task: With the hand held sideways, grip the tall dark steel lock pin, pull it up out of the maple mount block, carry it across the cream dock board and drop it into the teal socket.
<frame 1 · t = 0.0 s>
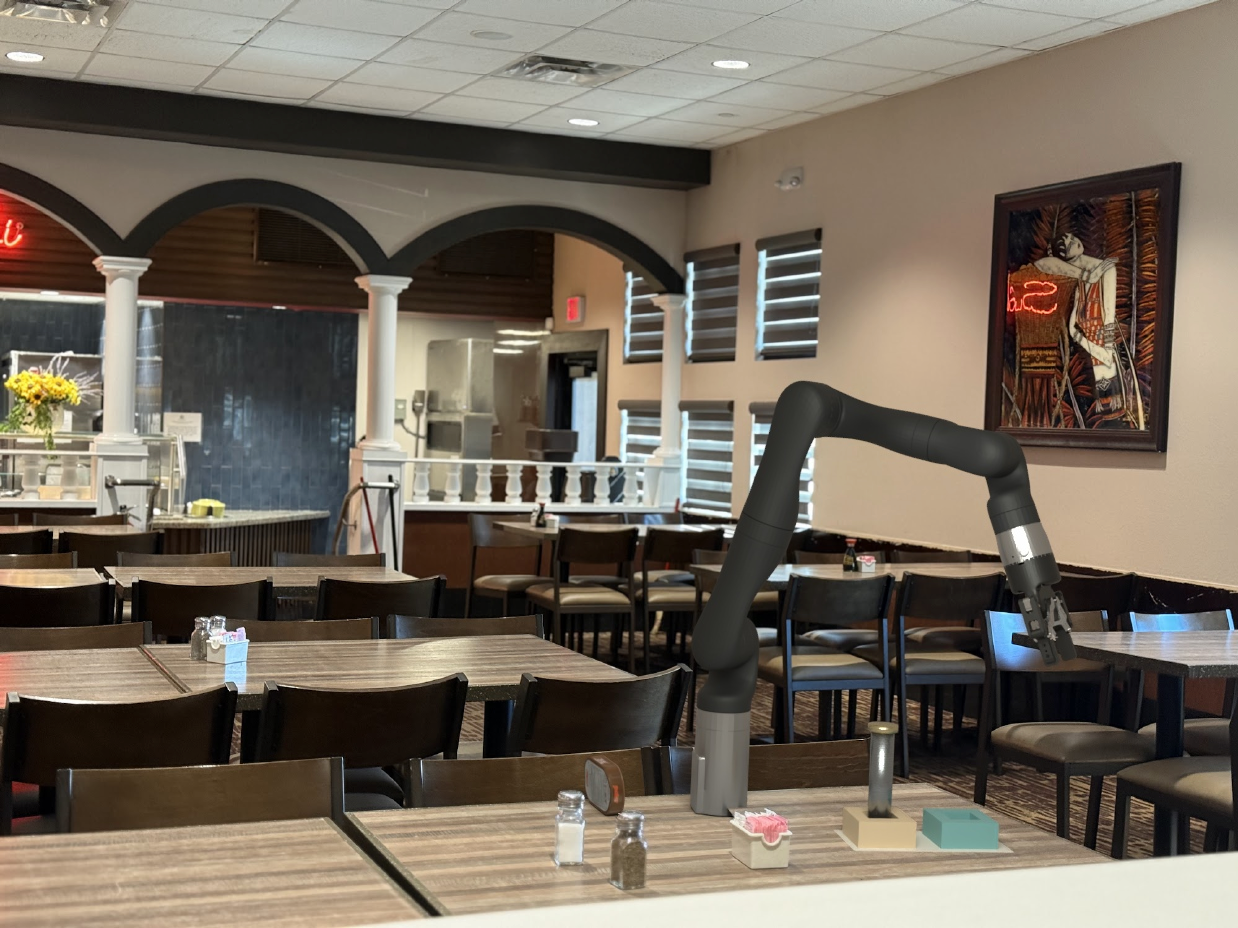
hand: (1062, 662, 214), 31 cm above the table, tool tilted 20°, fingers open, 8 cm apart
dock: (921, 850, 225), on the table
lock pin: (878, 840, 224), point 1 cm above the table, touching dock
tin: (602, 810, 243), on the table
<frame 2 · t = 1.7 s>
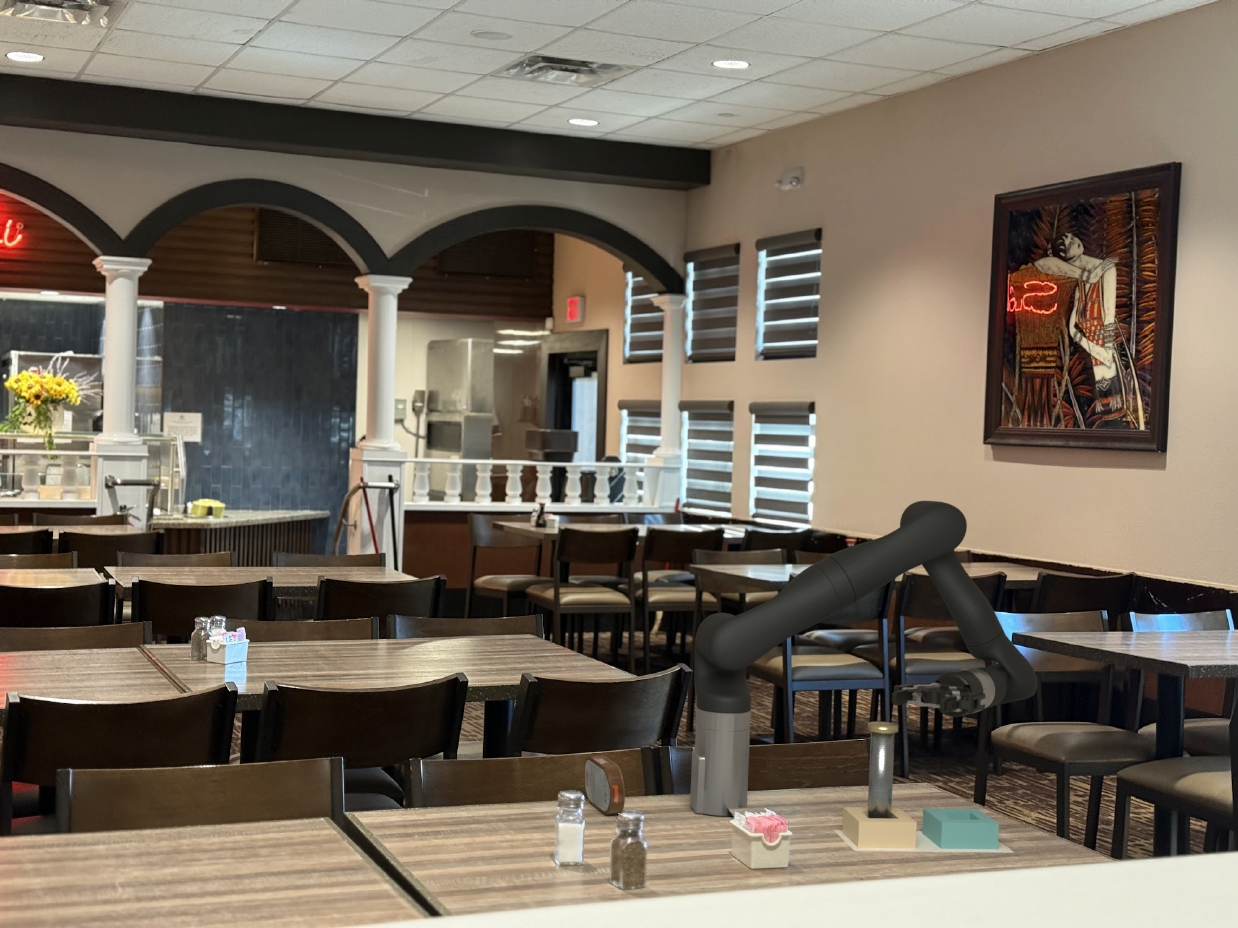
hand: (918, 702, 232), 22 cm above the table, tool horizontal, fingers open, 8 cm apart
nothing on the table moved.
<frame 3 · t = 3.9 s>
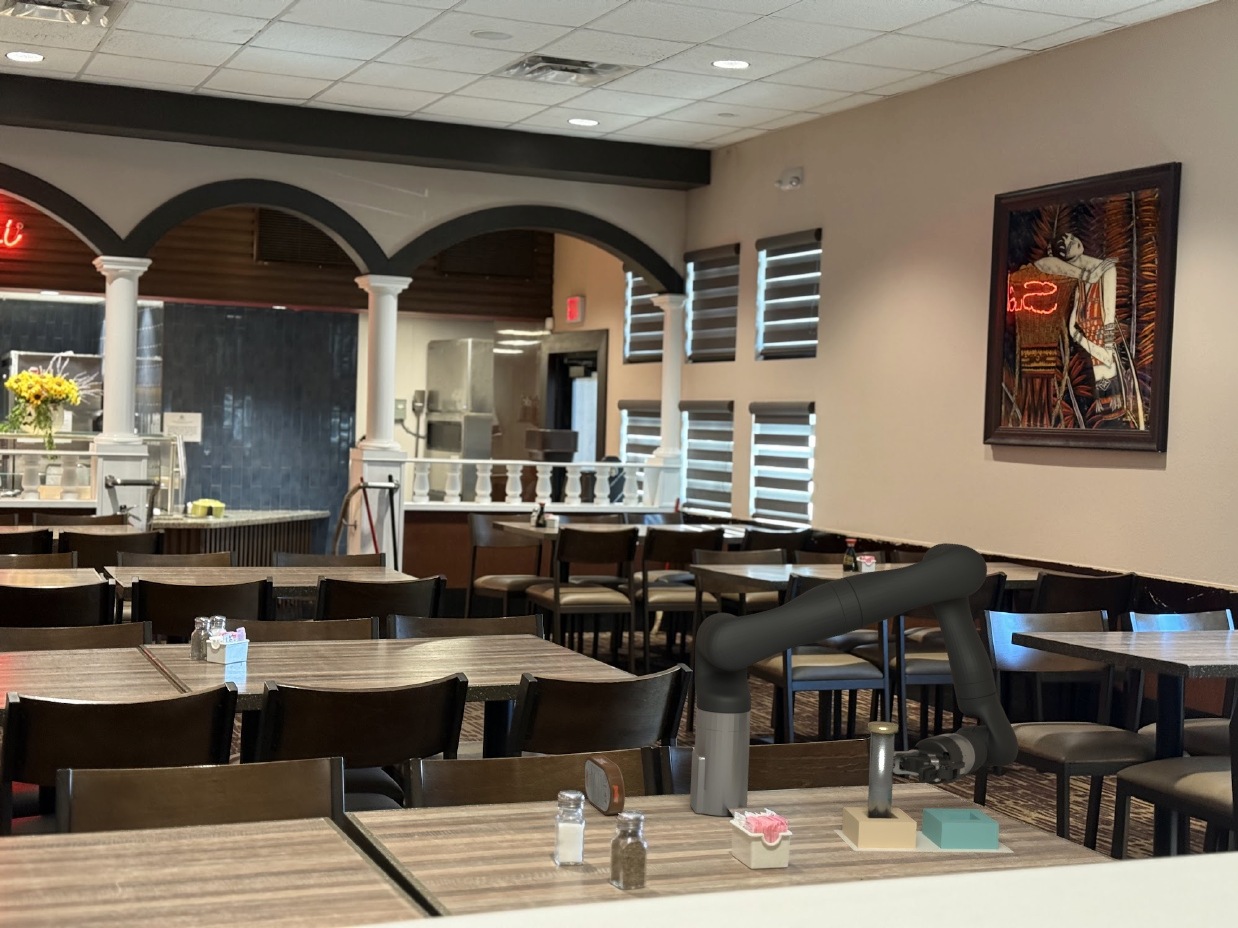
hand: (896, 771, 228), 11 cm above the table, tool horizontal, fingers open, 8 cm apart
nothing on the table moved.
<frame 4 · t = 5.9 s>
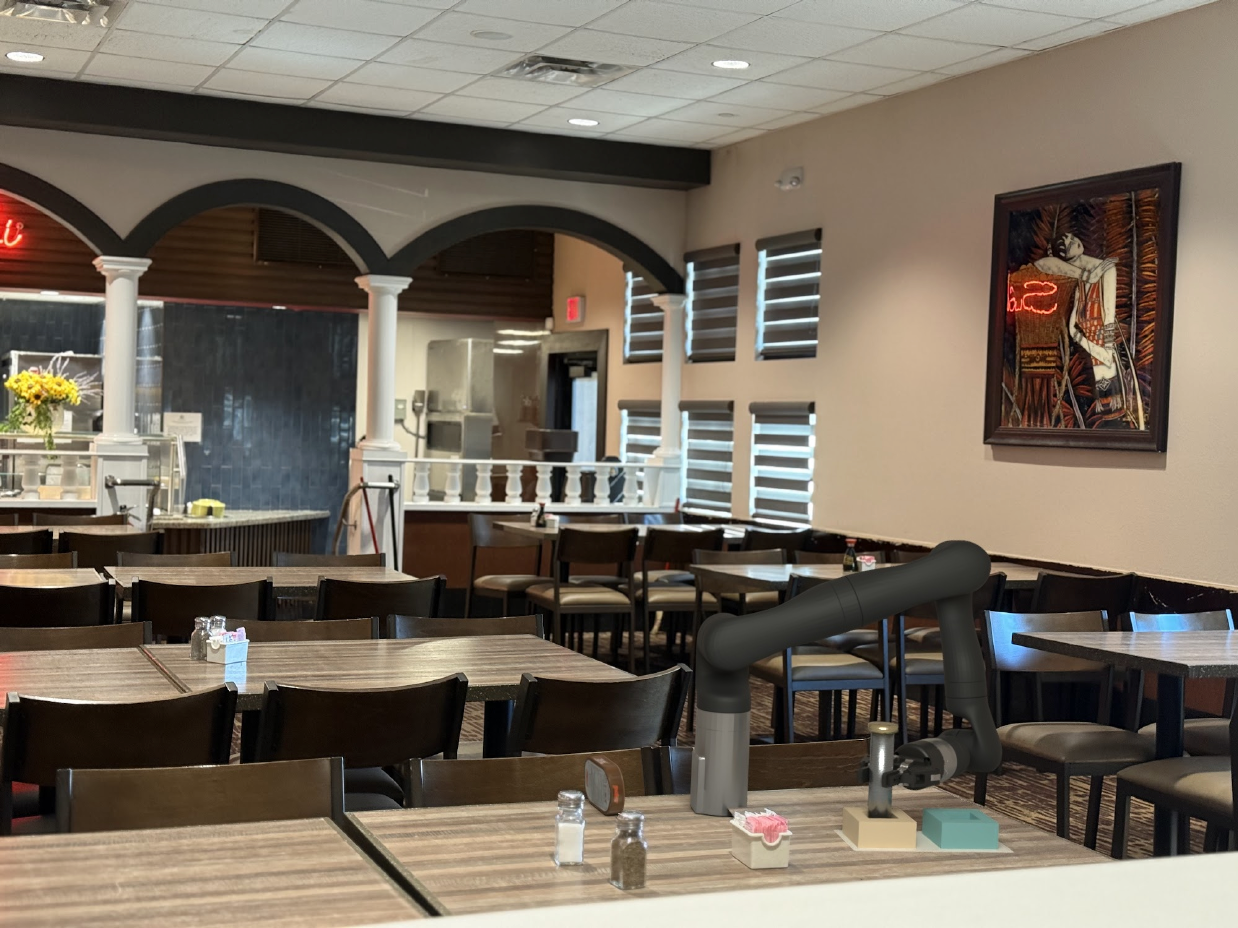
hand: (872, 778, 222), 11 cm above the table, tool horizontal, fingers closed on lock pin, 3 cm apart
lock pin: (878, 840, 224), point 2 cm above the table, touching dock, gripper
everything else where it was.
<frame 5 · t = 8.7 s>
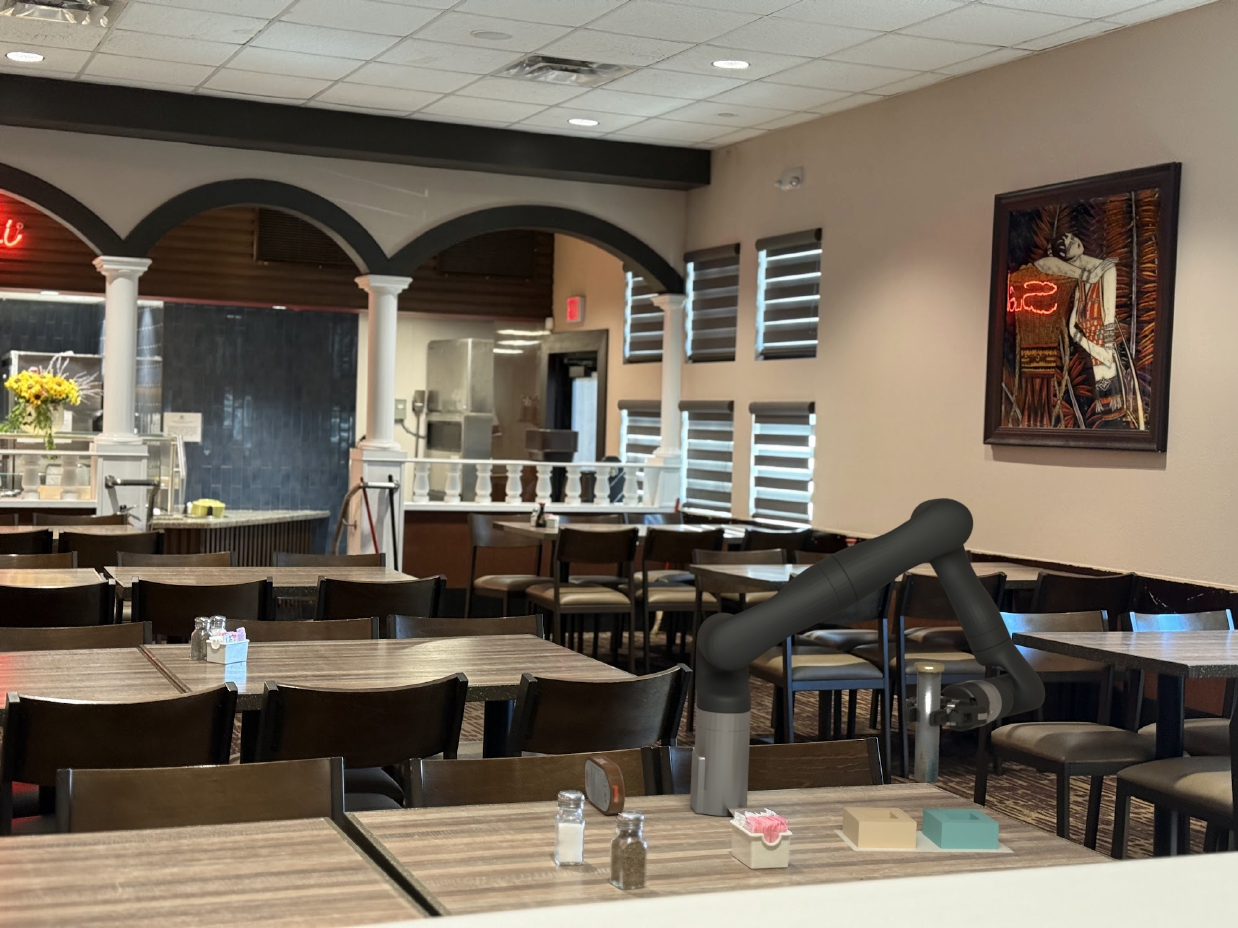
hand: (919, 717, 223), 21 cm above the table, tool horizontal, fingers closed on lock pin, 3 cm apart
lock pin: (926, 779, 225), point 11 cm above the table, touching gripper
everything else where it was.
when the fingers open (12 cm above the table, at t = 11.5 s): lock pin stays where it is, resting on dock.
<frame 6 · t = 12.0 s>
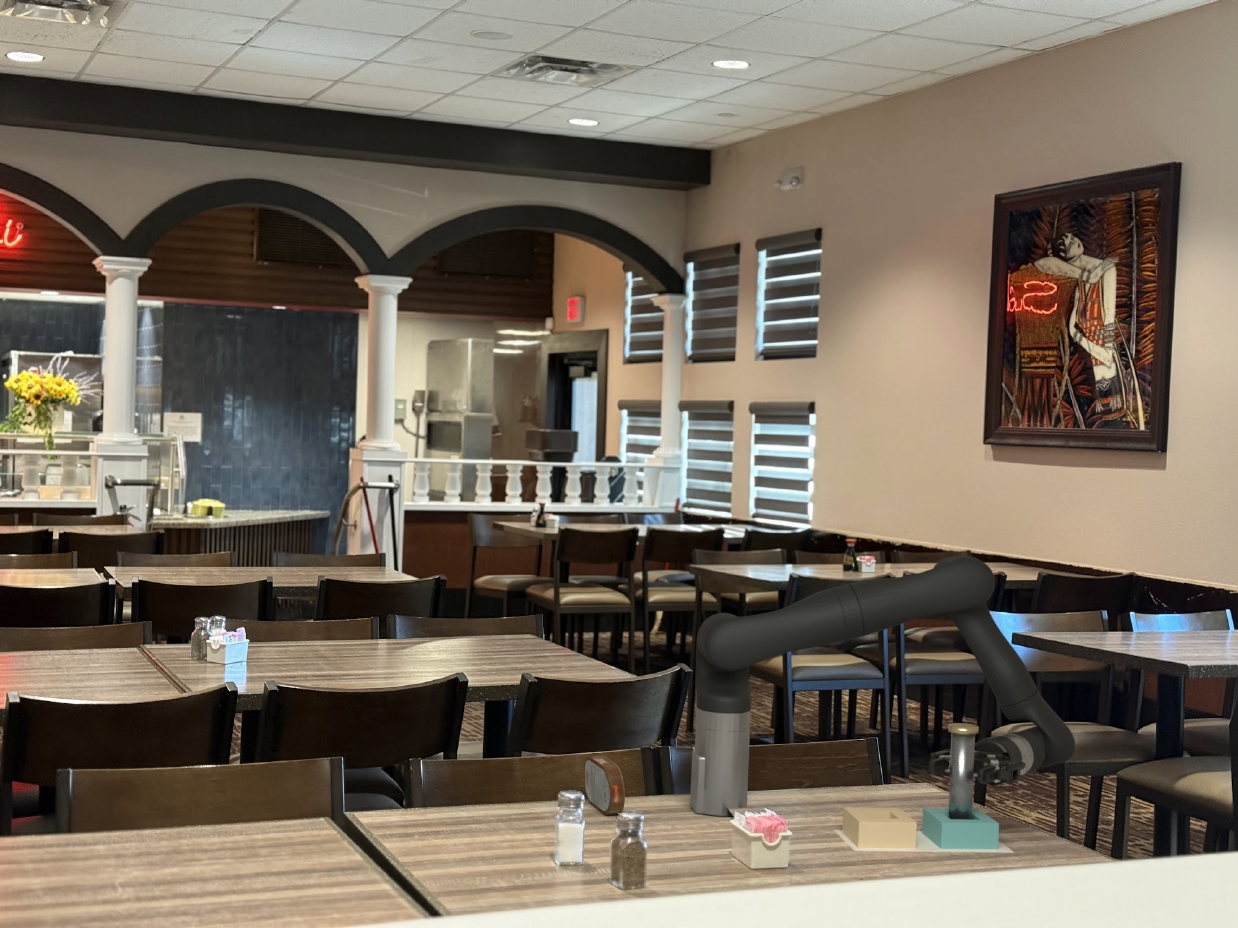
hand: (956, 772, 224), 13 cm above the table, tool horizontal, fingers open, 8 cm apart
lock pin: (959, 840, 226), point 2 cm above the table, touching dock
everything else where it was.
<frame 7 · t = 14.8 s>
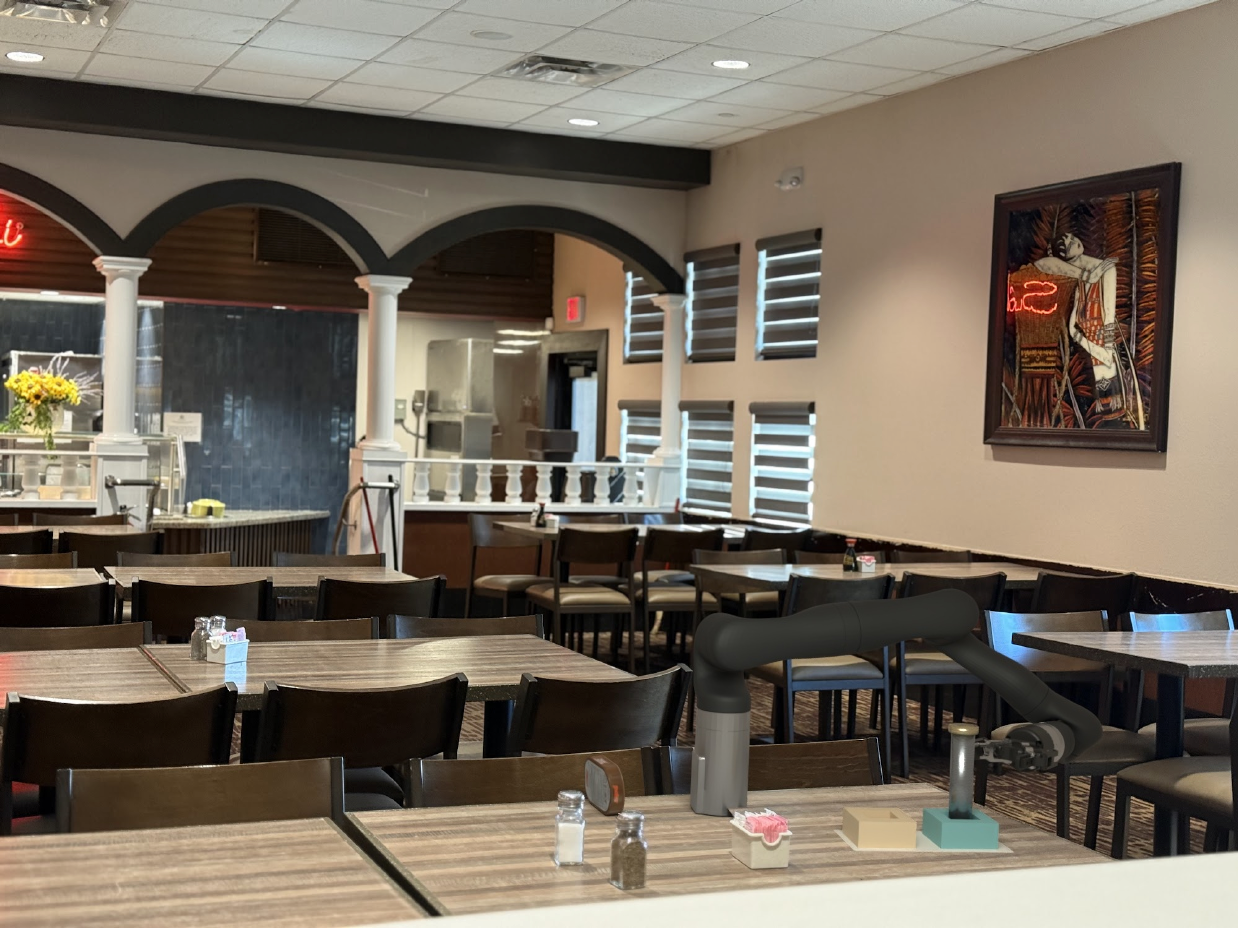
hand: (992, 759, 234), 13 cm above the table, tool horizontal, fingers open, 8 cm apart
nothing on the table moved.
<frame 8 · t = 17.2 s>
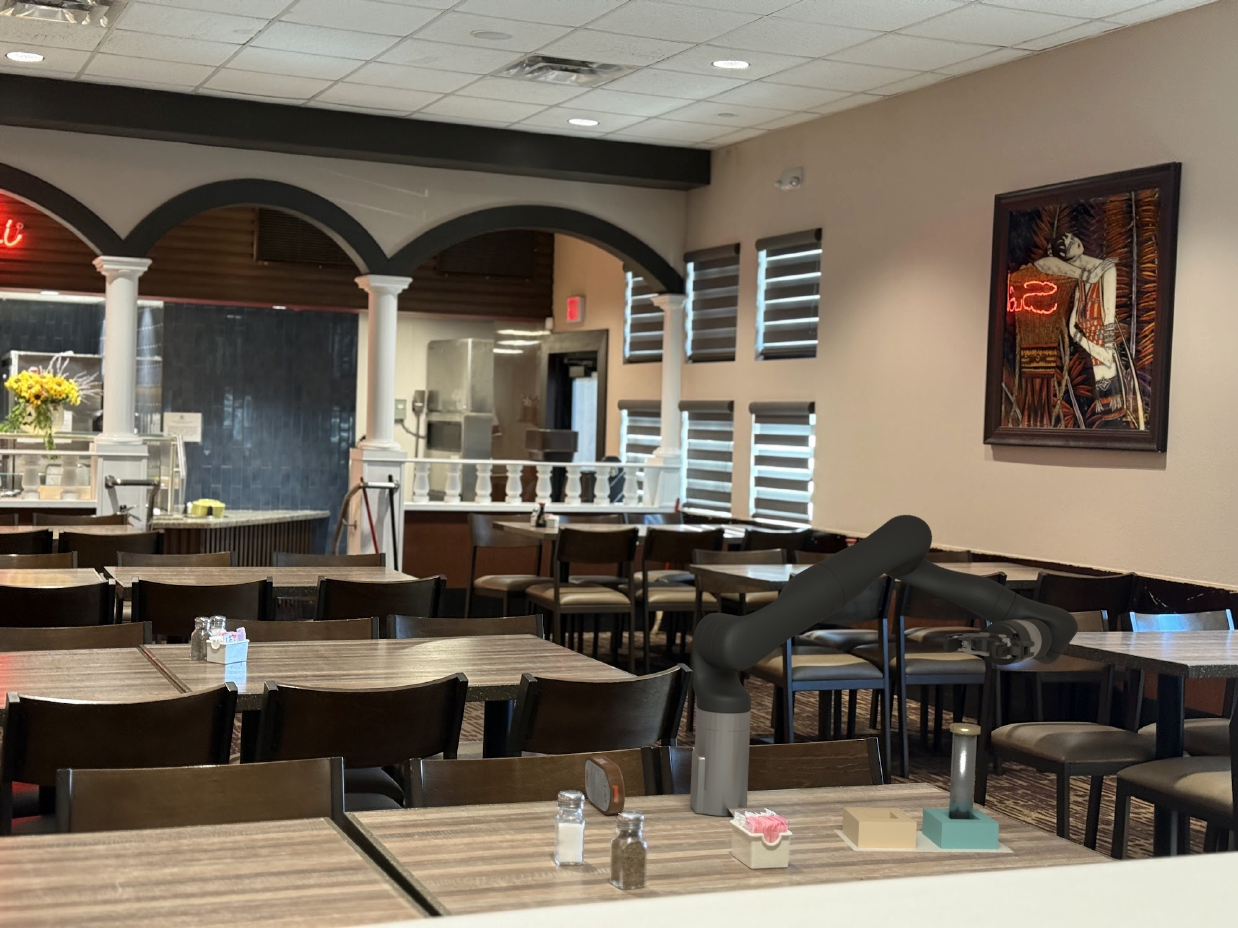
hand: (969, 648, 239), 30 cm above the table, tool horizontal, fingers open, 8 cm apart
nothing on the table moved.
at the end: lock pin 0.1 cm from the target spot on the dock, point 1.5 cm above the dock's base; lock pin tilted 1°; the gripper is holding nothing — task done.
